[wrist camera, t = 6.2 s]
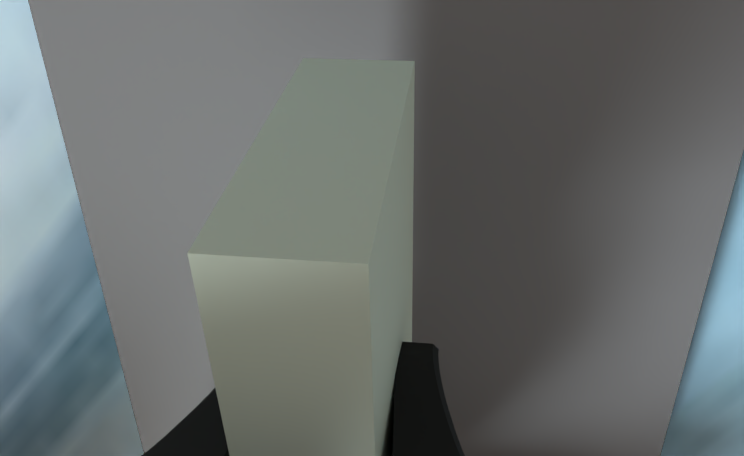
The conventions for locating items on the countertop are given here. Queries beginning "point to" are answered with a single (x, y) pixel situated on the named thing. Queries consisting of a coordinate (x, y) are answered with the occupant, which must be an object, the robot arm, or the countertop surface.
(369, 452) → the door
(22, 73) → the countertop surface
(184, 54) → the cabinet base
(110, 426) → the countertop surface
